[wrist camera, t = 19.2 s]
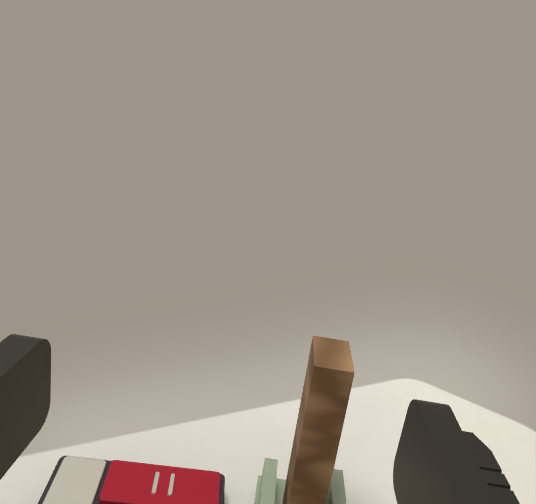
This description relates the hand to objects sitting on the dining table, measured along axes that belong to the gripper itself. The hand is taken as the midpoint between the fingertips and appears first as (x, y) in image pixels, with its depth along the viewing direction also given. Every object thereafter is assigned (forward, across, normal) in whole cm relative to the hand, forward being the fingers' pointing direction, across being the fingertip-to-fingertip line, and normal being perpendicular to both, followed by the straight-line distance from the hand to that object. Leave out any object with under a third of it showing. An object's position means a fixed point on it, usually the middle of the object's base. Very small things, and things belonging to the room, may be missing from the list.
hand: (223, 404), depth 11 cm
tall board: (+26, -6, +29) cm, 39 cm away
